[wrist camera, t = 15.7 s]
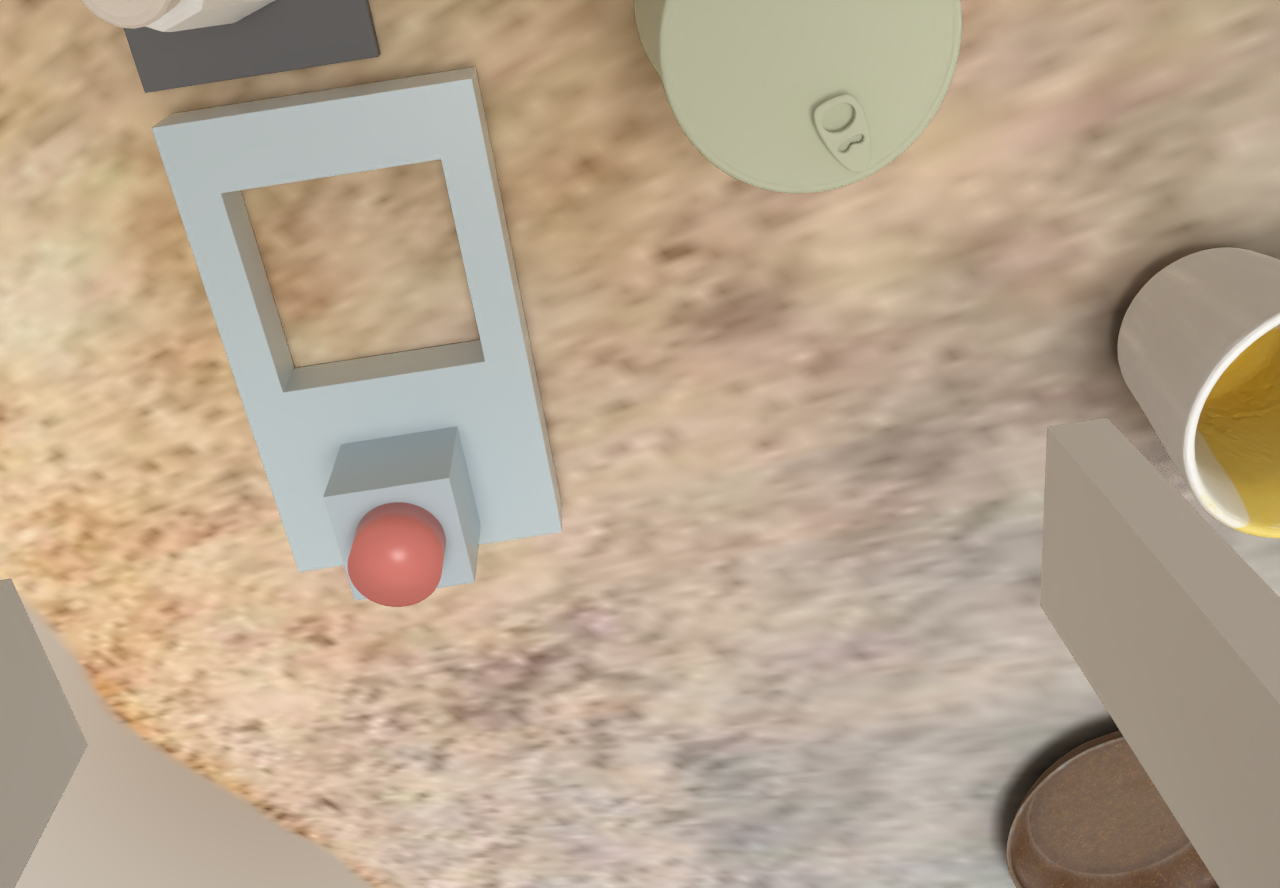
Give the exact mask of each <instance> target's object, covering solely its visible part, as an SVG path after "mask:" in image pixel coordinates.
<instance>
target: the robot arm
mask: <svg viewBox="0 0 1280 888" xmlns="http://www.w3.org/2000/svg"><path fill="white" fill-rule="evenodd" d="M1040 606H1041V607H1042V609H1043V610H1044V612H1045V614H1046V615H1047V617H1048V618H1049V620H1050V621H1051V623H1052V625H1053V626H1054V628H1055V629H1056V631H1057V632H1058V634H1059V636H1060V637H1061V639H1062V640H1063V642H1064V644H1065V645H1066V647H1067V648H1068V650H1069V651H1070V653H1071V655H1072V656H1073V658H1074V659H1075V661H1076V662H1077V664H1078V666H1079V667H1080V669H1081V670H1082V672H1083V673H1084V675H1085V677H1086V678H1087V680H1088V681H1089V683H1090V684H1091V686H1092V688H1093V689H1094V691H1095V692H1096V694H1097V695H1098V697H1099V699H1100V700H1101V702H1102V703H1103V705H1104V706H1105V708H1106V710H1107V711H1108V713H1109V714H1110V716H1111V717H1112V719H1113V721H1114V722H1115V724H1116V725H1117V727H1118V728H1119V730H1120V732H1121V733H1122V735H1123V736H1124V738H1125V739H1126V741H1127V743H1128V744H1129V746H1130V747H1131V749H1132V751H1133V752H1134V754H1135V755H1136V757H1137V758H1138V760H1139V762H1140V763H1141V765H1142V766H1143V768H1144V769H1145V771H1146V773H1147V774H1148V776H1149V777H1150V779H1151V780H1152V782H1153V784H1154V785H1155V787H1156V788H1157V790H1158V791H1159V793H1160V795H1161V796H1162V798H1163V799H1164V801H1165V802H1166V804H1167V806H1168V807H1169V809H1170V810H1171V812H1172V813H1173V815H1174V817H1175V818H1176V820H1177V821H1178V823H1179V824H1180V826H1181V828H1182V829H1183V831H1184V832H1185V834H1186V835H1187V837H1188V839H1189V840H1190V842H1191V843H1192V845H1193V847H1194V848H1195V850H1196V851H1197V853H1198V854H1199V856H1200V858H1201V859H1202V861H1203V862H1204V864H1205V865H1206V867H1207V869H1208V870H1209V872H1210V873H1211V875H1212V876H1213V878H1214V880H1215V881H1216V883H1217V884H1218V886H1219V887H1220V888H1280V598H1279V596H1278V595H1277V594H1276V593H1275V592H1274V591H1273V590H1272V589H1271V588H1270V587H1269V586H1268V585H1267V584H1266V583H1265V582H1264V581H1263V580H1262V579H1261V578H1260V577H1259V576H1258V575H1257V573H1256V572H1255V571H1254V570H1253V569H1252V568H1251V567H1250V566H1249V565H1248V564H1247V563H1246V562H1245V561H1244V560H1243V559H1242V558H1241V557H1240V556H1239V555H1238V554H1237V553H1236V552H1235V551H1234V549H1233V548H1232V547H1231V546H1230V545H1229V544H1228V543H1227V542H1226V541H1225V540H1224V539H1223V538H1222V537H1221V536H1220V535H1219V534H1218V533H1217V532H1216V531H1215V530H1214V529H1213V528H1212V526H1211V525H1210V524H1209V523H1208V522H1207V521H1206V520H1205V519H1204V518H1203V517H1202V516H1201V515H1200V514H1199V513H1198V512H1197V511H1196V510H1195V509H1194V508H1193V507H1192V506H1191V505H1190V504H1189V502H1188V501H1187V500H1186V499H1185V498H1184V497H1183V496H1182V495H1181V494H1180V493H1179V492H1178V491H1177V490H1176V489H1175V488H1174V487H1173V486H1172V485H1171V484H1170V483H1169V482H1168V481H1167V479H1166V478H1165V477H1164V476H1163V475H1162V474H1161V473H1160V472H1159V471H1158V470H1157V469H1156V468H1155V467H1154V466H1153V465H1152V464H1151V463H1150V462H1149V461H1148V460H1147V459H1146V458H1145V457H1144V455H1143V454H1142V453H1141V452H1140V451H1139V450H1138V449H1137V448H1136V447H1135V446H1134V445H1133V444H1132V443H1131V442H1130V441H1129V440H1128V439H1127V438H1126V437H1125V436H1124V435H1123V434H1122V432H1121V431H1120V430H1119V429H1118V428H1117V427H1116V426H1115V425H1114V424H1113V423H1112V422H1111V421H1110V420H1109V419H1108V418H1104V419H1097V420H1090V421H1083V422H1076V423H1070V424H1063V425H1056V426H1049V427H1047V441H1046V468H1045V494H1044V521H1043V548H1042V575H1041V601H1040ZM87 745H88V744H87V742H86V740H85V737H84V735H83V733H82V731H81V729H80V727H79V725H78V722H77V720H76V718H75V716H74V714H73V711H72V709H71V708H70V705H69V703H68V701H67V699H66V696H65V694H64V692H63V690H62V688H61V685H60V683H59V681H58V679H57V677H56V675H55V673H54V670H53V668H52V666H51V664H50V662H49V660H48V657H47V655H46V653H45V651H44V649H43V647H42V644H41V642H40V640H39V638H38V636H37V634H36V631H35V629H34V627H33V625H32V623H31V621H30V618H29V617H28V614H27V612H26V610H25V608H24V605H23V603H22V601H21V599H20V597H19V595H18V592H17V590H16V588H15V586H14V584H13V582H12V579H5V580H0V888H15V886H16V884H17V882H18V880H19V878H20V876H21V874H22V872H23V870H24V868H25V866H26V864H27V862H28V860H29V859H30V857H31V854H32V853H33V851H34V849H35V847H36V845H37V843H38V841H39V839H40V837H41V835H42V833H43V831H44V829H45V827H46V825H47V823H48V822H49V820H50V818H51V816H52V813H53V812H54V810H55V808H56V806H57V804H58V802H59V800H60V798H61V796H62V794H63V792H64V790H65V788H66V786H67V785H68V783H69V780H70V779H71V777H72V775H73V773H74V771H75V769H76V767H77V765H78V763H79V761H80V759H81V757H82V755H83V753H84V751H85V749H86V748H87Z"/></svg>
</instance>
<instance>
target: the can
mask: <svg viewBox="0 0 1280 888" xmlns="http://www.w3.org/2000/svg"><path fill="white" fill-rule="evenodd" d="M634 12H635V19H636V24H637V29H638V33H639V37H640V39H641V42H642V45H643V48H644V50H645V52H646V55H647V56H648V58H649V60H650V62H651V64H652V65H653V67H654V69H655V70H656V71H657V73H658V74H659V76H660V77H661V78H662V82H663V86H664V90H665V93H666V96H667V99H668V102H669V104H670V107H671V109H672V111H673V114H674V116H675V117H676V119H677V121H678V123H679V125H680V127H681V128H682V130H683V131H684V133H685V134H686V136H687V137H688V139H689V140H690V141H691V143H692V144H693V145H694V146H695V147H696V148H697V149H698V151H699V152H700V153H701V154H702V155H703V156H705V157H706V158H707V159H708V160H709V161H710V162H711V163H713V164H714V165H715V166H716V167H718V168H719V169H721V170H722V171H724V172H725V173H727V174H728V175H730V176H732V177H734V178H735V179H738V180H740V181H742V182H744V183H746V184H749V185H752V186H755V187H758V188H761V189H764V190H770V191H775V192H780V193H793V194H804V193H817V192H823V191H829V190H833V189H837V188H840V187H844V186H847V185H849V184H852V183H855V182H857V181H860V180H862V179H864V178H866V177H868V176H870V175H872V174H873V173H875V172H877V171H879V170H880V169H882V168H883V167H885V166H887V165H888V164H889V163H891V162H892V161H893V160H894V159H896V158H897V157H898V156H899V155H901V154H902V153H903V152H904V151H905V150H906V149H907V148H908V147H909V146H910V145H911V144H912V143H913V142H914V141H915V140H916V139H917V138H918V136H919V135H920V134H921V133H922V132H923V131H924V129H925V128H926V127H927V125H928V124H929V123H930V121H931V120H932V118H933V117H934V115H935V113H936V112H937V110H938V108H939V106H940V105H941V103H942V101H943V99H944V97H945V95H946V93H947V90H948V88H949V86H950V83H951V80H952V77H953V74H954V71H955V68H956V64H957V59H958V55H959V50H960V42H961V35H962V10H961V0H634Z"/></svg>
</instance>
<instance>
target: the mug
mask: <svg viewBox="0 0 1280 888" xmlns="http://www.w3.org/2000/svg"><path fill="white" fill-rule="evenodd" d="M1117 349H1118V361H1119V366H1120V370H1121V373H1122V376H1123V378H1124V380H1125V383H1126V385H1127V386H1128V388H1129V389H1130V391H1131V392H1132V394H1133V396H1134V397H1135V399H1136V400H1137V402H1138V403H1139V405H1140V407H1141V408H1142V410H1143V412H1144V413H1145V415H1146V417H1147V418H1148V420H1149V422H1150V424H1151V425H1152V427H1153V429H1154V430H1155V432H1156V434H1157V435H1158V437H1159V439H1160V441H1161V442H1162V444H1163V446H1164V448H1165V449H1166V451H1167V453H1168V455H1169V456H1170V458H1171V460H1172V462H1173V463H1174V465H1175V467H1176V468H1177V470H1178V472H1179V473H1180V475H1181V477H1182V478H1183V480H1184V481H1185V483H1186V484H1187V486H1188V488H1189V489H1190V491H1191V492H1192V494H1193V495H1194V497H1195V498H1196V499H1197V501H1198V502H1199V503H1200V505H1201V506H1202V507H1203V508H1204V509H1205V510H1206V511H1207V512H1208V513H1209V514H1210V515H1212V516H1213V517H1214V518H1216V519H1217V520H1218V521H1220V522H1221V523H1223V524H1225V525H1226V526H1228V527H1231V528H1233V529H1235V530H1237V531H1240V532H1243V533H1246V534H1250V535H1255V536H1260V537H1268V538H1280V259H1277V258H1274V257H1271V256H1268V255H1264V254H1261V253H1258V252H1255V251H1252V250H1248V249H1241V248H1232V247H1223V248H1213V249H1207V250H1203V251H1199V252H1196V253H1193V254H1190V255H1187V256H1185V257H1183V258H1181V259H1179V260H1177V261H1175V262H1173V263H1171V264H1170V265H1168V266H1166V267H1165V268H1163V269H1162V270H1161V271H1159V272H1158V273H1157V274H1156V275H1154V276H1153V277H1152V278H1151V279H1150V280H1149V281H1148V282H1147V283H1146V284H1145V285H1144V286H1143V287H1142V288H1141V290H1140V291H1139V292H1138V294H1137V295H1136V296H1135V298H1134V299H1133V301H1132V302H1131V304H1130V306H1129V308H1128V309H1127V312H1126V314H1125V316H1124V318H1123V321H1122V324H1121V328H1120V331H1119V336H1118V346H1117Z"/></svg>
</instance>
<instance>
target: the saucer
mask: <svg viewBox="0 0 1280 888" xmlns="http://www.w3.org/2000/svg"><path fill="white" fill-rule="evenodd" d="M1006 856H1007V864H1008V869H1009V872H1010V876H1011V878H1012V880H1013V882H1014V884H1015V886H1016V887H1017V888H1220V887H1219V886H1218V884H1217V883H1216V881H1215V880H1214V878H1213V876H1212V875H1211V873H1210V872H1209V870H1208V869H1207V867H1206V865H1205V864H1204V862H1203V861H1202V859H1201V858H1200V856H1199V854H1198V853H1197V851H1196V850H1195V848H1194V847H1193V845H1192V843H1191V842H1190V840H1189V839H1188V837H1187V835H1186V834H1185V832H1184V831H1183V829H1182V828H1181V826H1180V824H1179V823H1178V821H1177V820H1176V818H1175V817H1174V815H1173V813H1172V812H1171V810H1170V809H1169V807H1168V806H1167V804H1166V802H1165V801H1164V799H1163V798H1162V796H1161V795H1160V793H1159V791H1158V790H1157V788H1156V787H1155V785H1154V784H1153V782H1152V780H1151V779H1150V777H1149V776H1148V774H1147V773H1146V771H1145V769H1144V768H1143V766H1142V765H1141V763H1140V762H1139V760H1138V758H1137V757H1136V755H1135V754H1134V752H1133V751H1132V749H1131V747H1130V746H1129V744H1128V743H1127V741H1126V739H1125V738H1124V736H1123V735H1122V733H1121V732H1120V731H1116V732H1112V733H1109V734H1106V735H1103V736H1100V737H1097V738H1095V739H1093V740H1090V741H1088V742H1086V743H1084V744H1082V745H1080V746H1078V747H1076V748H1074V749H1073V750H1071V751H1070V752H1068V753H1066V754H1065V755H1064V756H1062V757H1061V758H1060V759H1058V760H1057V761H1056V762H1054V763H1053V764H1052V765H1051V766H1050V767H1049V768H1048V769H1047V770H1046V771H1045V772H1044V773H1043V774H1042V775H1041V776H1040V777H1039V778H1038V779H1037V780H1036V782H1035V783H1034V784H1033V785H1032V787H1031V788H1030V789H1029V791H1028V792H1027V794H1026V795H1025V797H1024V798H1023V800H1022V802H1021V804H1020V806H1019V808H1018V810H1017V812H1016V814H1015V817H1014V820H1013V823H1012V826H1011V828H1010V832H1009V836H1008V841H1007V852H1006Z"/></svg>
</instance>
